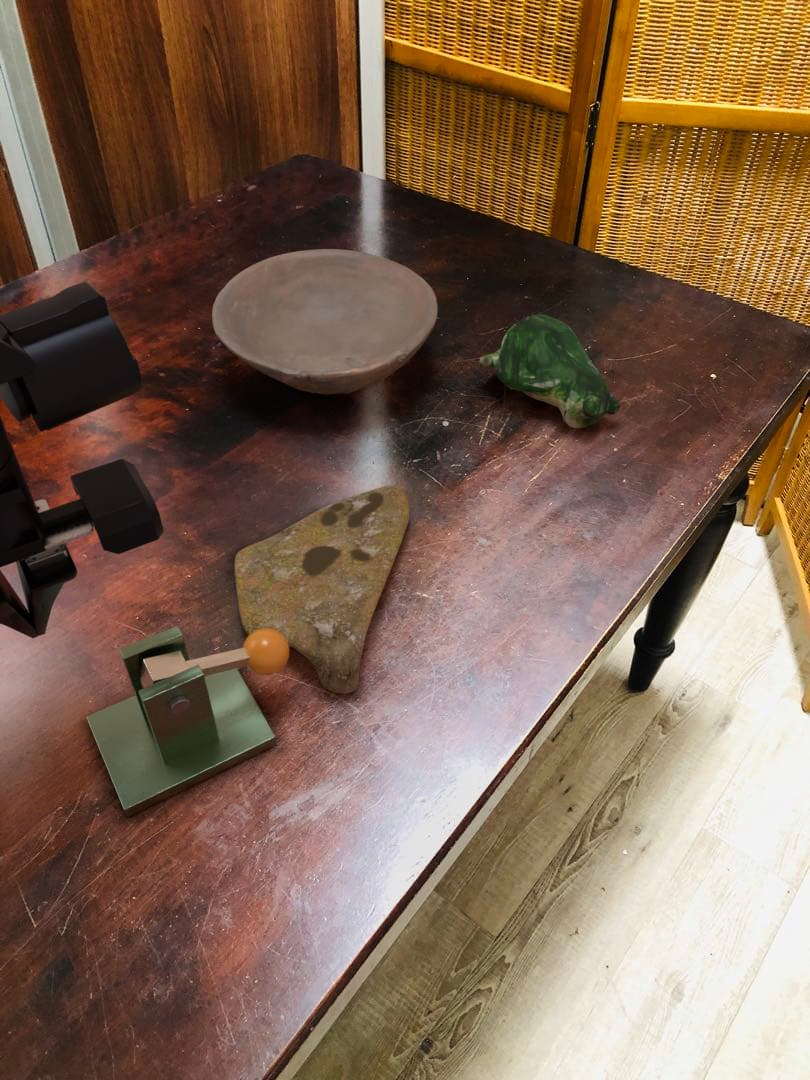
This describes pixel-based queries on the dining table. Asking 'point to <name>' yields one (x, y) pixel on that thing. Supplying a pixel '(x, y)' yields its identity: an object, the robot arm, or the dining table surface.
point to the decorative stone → (325, 580)
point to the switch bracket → (176, 727)
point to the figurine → (552, 370)
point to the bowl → (325, 318)
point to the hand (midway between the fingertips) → (37, 631)
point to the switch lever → (223, 659)
